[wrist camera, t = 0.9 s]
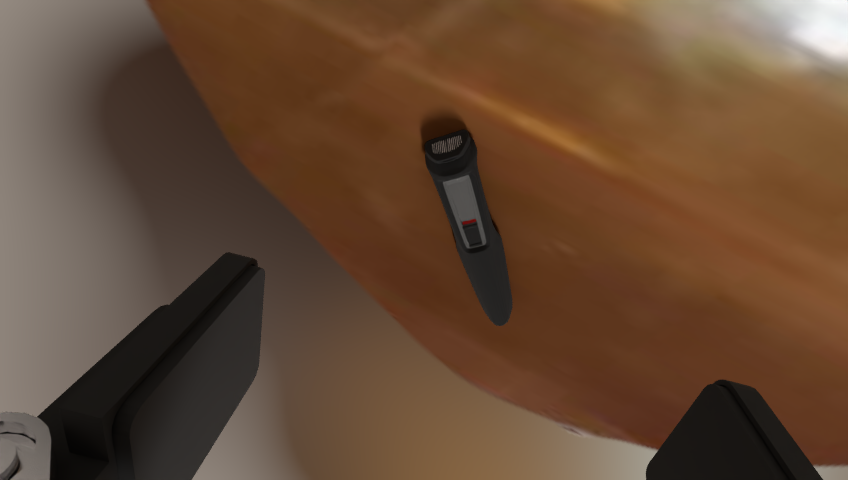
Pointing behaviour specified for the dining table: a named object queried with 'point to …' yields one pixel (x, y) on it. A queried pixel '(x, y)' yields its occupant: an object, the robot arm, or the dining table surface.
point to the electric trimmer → (471, 220)
